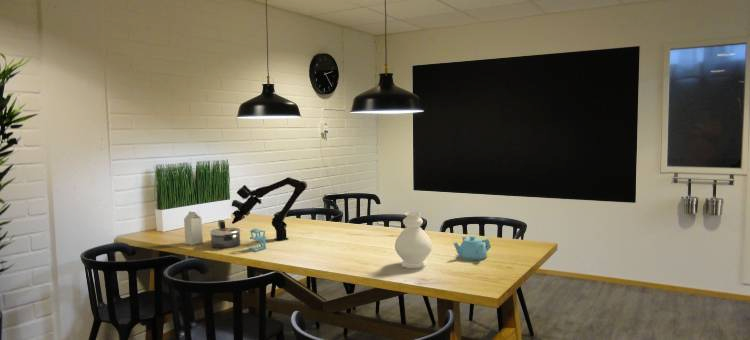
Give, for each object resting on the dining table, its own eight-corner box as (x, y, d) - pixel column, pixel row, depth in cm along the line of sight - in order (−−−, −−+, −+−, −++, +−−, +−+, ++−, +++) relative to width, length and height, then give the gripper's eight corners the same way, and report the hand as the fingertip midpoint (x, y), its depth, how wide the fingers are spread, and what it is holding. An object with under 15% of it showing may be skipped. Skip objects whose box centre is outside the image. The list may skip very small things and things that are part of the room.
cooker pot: (243, 247, 300) (242, 235, 299) (214, 251, 293) (213, 238, 293) (235, 238, 323) (235, 227, 323) (208, 242, 317) (207, 230, 316)
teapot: (482, 262, 254) (482, 240, 253) (453, 259, 261) (452, 238, 260) (491, 255, 268) (491, 234, 267) (463, 252, 275) (462, 232, 274)
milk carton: (192, 245, 309) (190, 213, 307) (185, 243, 313) (183, 212, 312) (202, 243, 315) (201, 211, 313) (195, 241, 319) (194, 210, 317)
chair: (268, 249, 294) (268, 228, 293) (255, 252, 288) (255, 230, 287) (261, 247, 299) (260, 226, 298) (248, 249, 294) (247, 228, 293)
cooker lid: (242, 233, 302) (242, 225, 301) (212, 237, 295) (212, 228, 294) (234, 227, 323) (234, 218, 322) (206, 230, 316) (206, 221, 315)
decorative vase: (440, 265, 252) (439, 213, 250) (411, 271, 242) (409, 217, 240) (416, 257, 267) (415, 208, 264) (387, 264, 256) (386, 213, 254)
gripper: (243, 193, 325) (227, 211, 327) (234, 197, 307) (217, 217, 308) (257, 205, 326) (240, 223, 327) (249, 210, 307) (231, 229, 309)
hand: (232, 223), depth 318 cm, fingers closed
